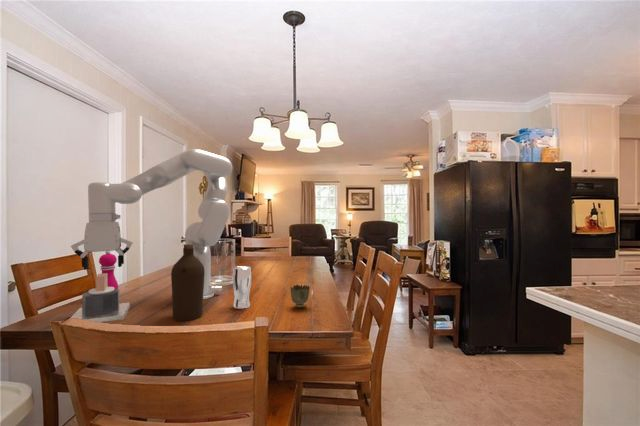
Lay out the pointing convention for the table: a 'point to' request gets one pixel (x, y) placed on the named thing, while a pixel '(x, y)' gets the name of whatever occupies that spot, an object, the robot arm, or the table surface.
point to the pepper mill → (109, 268)
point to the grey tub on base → (102, 307)
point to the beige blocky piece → (101, 285)
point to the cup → (299, 295)
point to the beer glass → (241, 286)
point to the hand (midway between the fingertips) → (103, 267)
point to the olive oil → (187, 286)
